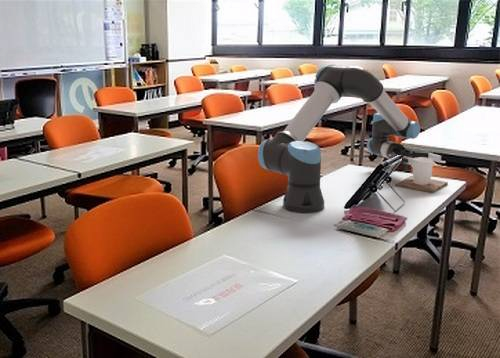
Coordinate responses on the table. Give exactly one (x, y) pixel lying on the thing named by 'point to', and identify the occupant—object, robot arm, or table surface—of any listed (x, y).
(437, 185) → the walnut board
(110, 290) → the table surface
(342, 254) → the table surface
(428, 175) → the white cup
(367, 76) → the robot arm
